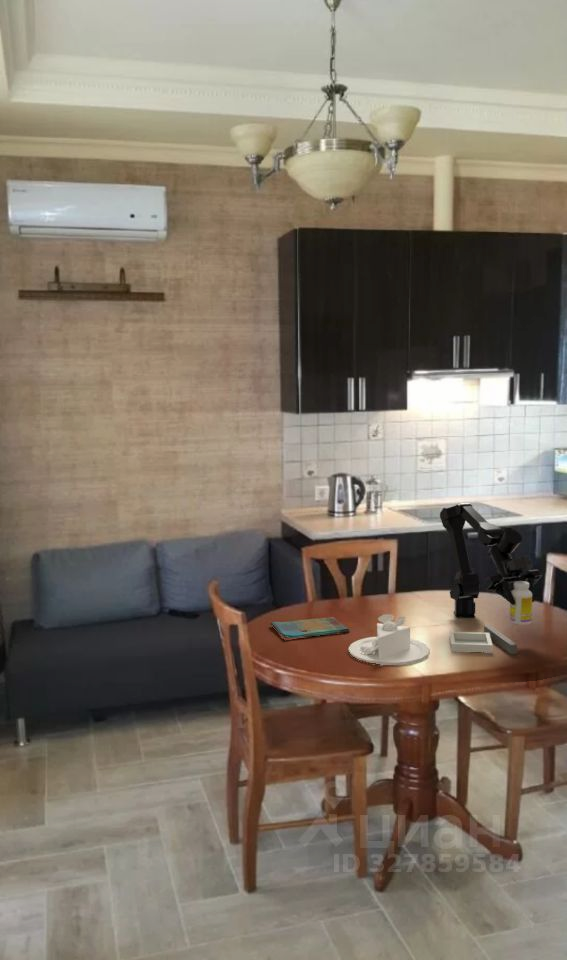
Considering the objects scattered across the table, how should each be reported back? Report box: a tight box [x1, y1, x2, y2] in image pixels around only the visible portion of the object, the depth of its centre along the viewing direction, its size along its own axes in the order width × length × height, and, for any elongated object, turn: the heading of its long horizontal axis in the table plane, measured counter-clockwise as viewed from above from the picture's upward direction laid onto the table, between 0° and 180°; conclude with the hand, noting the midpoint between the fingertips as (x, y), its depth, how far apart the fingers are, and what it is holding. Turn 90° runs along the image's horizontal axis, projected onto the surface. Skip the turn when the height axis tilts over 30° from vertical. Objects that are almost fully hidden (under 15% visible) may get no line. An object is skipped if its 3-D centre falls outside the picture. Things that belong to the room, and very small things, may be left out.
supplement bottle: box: [509, 581, 533, 626], centre depth 251 cm, size 7×7×13 cm
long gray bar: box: [483, 624, 518, 655], centre depth 252 cm, size 20×2×3 cm, turn 9°
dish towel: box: [270, 616, 351, 638], centre depth 271 cm, size 17×23×2 cm
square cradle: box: [449, 631, 494, 654], centre depth 250 cm, size 12×12×2 cm
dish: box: [348, 613, 430, 667], centre depth 247 cm, size 25×25×11 cm
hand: (523, 603), depth 249 cm, fingers closed on supplement bottle, 7 cm apart
